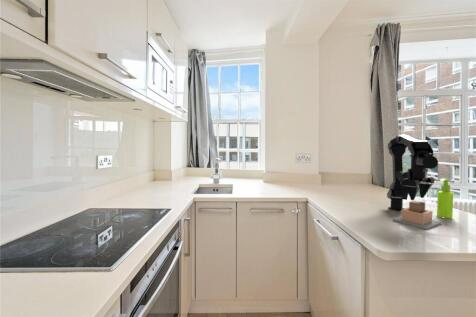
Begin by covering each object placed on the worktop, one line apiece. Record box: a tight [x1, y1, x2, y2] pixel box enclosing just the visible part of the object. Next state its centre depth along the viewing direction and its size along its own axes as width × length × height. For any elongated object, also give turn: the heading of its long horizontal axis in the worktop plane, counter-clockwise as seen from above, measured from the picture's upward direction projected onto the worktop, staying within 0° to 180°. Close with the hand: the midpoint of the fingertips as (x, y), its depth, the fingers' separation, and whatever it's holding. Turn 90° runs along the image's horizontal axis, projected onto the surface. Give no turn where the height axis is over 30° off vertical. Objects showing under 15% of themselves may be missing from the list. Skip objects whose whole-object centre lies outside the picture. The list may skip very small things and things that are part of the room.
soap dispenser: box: [436, 178, 454, 219], centre depth 116 cm, size 6×7×20 cm
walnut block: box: [408, 200, 426, 213], centre depth 109 cm, size 4×4×9 cm
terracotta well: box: [392, 207, 442, 231], centre depth 109 cm, size 14×14×6 cm
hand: (417, 198), depth 109 cm, fingers open, 9 cm apart
